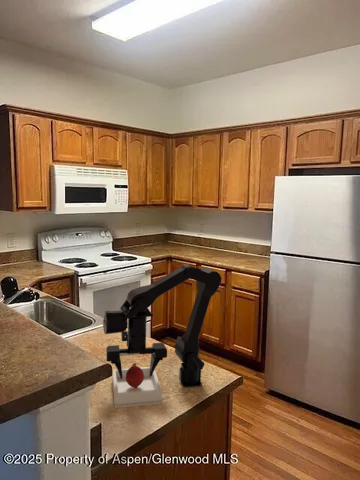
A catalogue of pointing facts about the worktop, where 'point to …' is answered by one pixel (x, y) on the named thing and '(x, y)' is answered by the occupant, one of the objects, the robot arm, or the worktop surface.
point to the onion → (134, 376)
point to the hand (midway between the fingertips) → (136, 377)
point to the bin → (136, 390)
